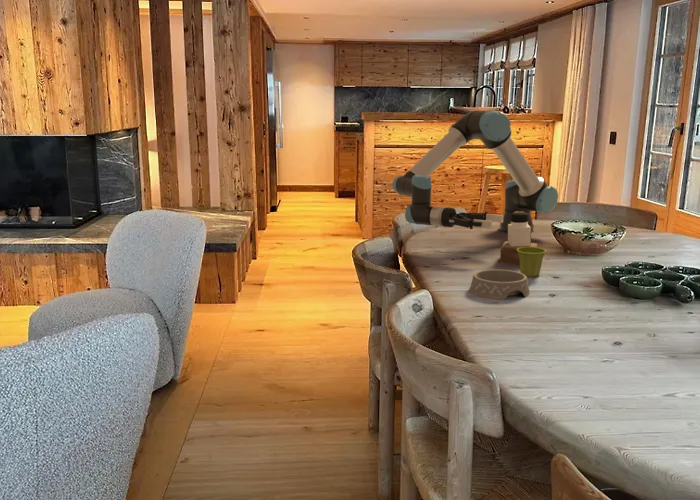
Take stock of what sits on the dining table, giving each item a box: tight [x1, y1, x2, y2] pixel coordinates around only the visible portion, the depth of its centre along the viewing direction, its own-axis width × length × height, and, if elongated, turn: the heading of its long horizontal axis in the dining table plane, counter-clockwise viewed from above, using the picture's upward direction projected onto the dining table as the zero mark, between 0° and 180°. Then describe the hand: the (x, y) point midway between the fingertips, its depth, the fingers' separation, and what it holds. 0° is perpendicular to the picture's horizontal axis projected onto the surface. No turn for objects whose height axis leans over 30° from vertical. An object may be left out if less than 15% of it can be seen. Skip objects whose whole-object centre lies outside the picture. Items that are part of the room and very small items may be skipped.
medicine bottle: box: [507, 212, 532, 247], centre depth 226 cm, size 7×7×12 cm
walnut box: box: [499, 240, 539, 266], centre depth 228 cm, size 12×12×6 cm
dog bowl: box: [469, 269, 530, 301], centre depth 192 cm, size 17×18×5 cm
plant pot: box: [517, 246, 547, 278], centre depth 210 cm, size 9×9×9 cm
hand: (497, 221), depth 230 cm, fingers open, 13 cm apart
